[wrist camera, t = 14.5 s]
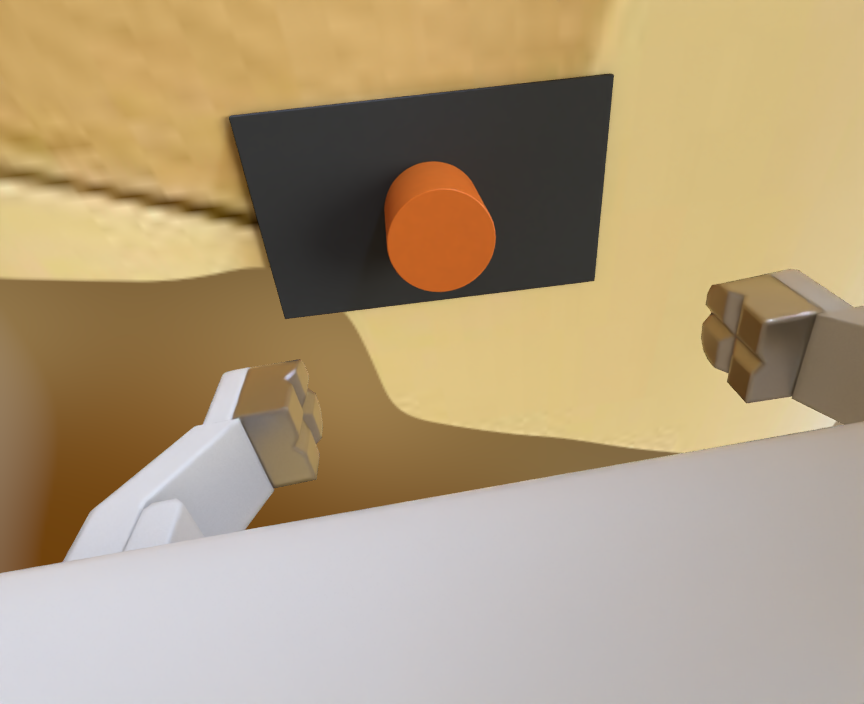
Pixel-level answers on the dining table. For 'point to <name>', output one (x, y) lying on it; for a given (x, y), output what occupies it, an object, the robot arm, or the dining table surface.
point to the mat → (416, 143)
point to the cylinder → (437, 227)
